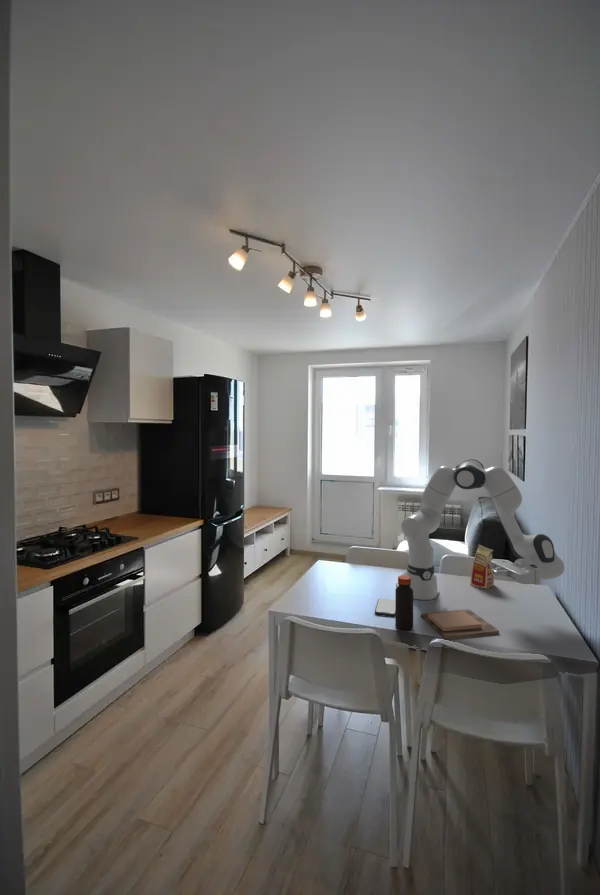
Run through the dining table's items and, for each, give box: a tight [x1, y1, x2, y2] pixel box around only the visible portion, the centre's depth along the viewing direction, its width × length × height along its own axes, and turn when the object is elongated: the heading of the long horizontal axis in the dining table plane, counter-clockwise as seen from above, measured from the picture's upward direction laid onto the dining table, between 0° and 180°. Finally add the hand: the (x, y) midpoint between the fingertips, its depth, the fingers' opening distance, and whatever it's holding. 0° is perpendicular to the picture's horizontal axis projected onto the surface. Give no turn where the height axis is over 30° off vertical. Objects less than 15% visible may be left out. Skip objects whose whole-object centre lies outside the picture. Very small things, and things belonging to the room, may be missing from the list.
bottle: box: [394, 574, 414, 632], centre depth 167 cm, size 7×7×20 cm
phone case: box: [374, 598, 395, 618], centre depth 186 cm, size 9×2×16 cm
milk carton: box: [469, 544, 495, 590], centre depth 212 cm, size 9×9×20 cm
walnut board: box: [420, 608, 500, 640], centre depth 170 cm, size 20×22×1 cm
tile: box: [428, 611, 482, 631], centre depth 168 cm, size 12×2×16 cm
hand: (493, 572), depth 170 cm, fingers closed
